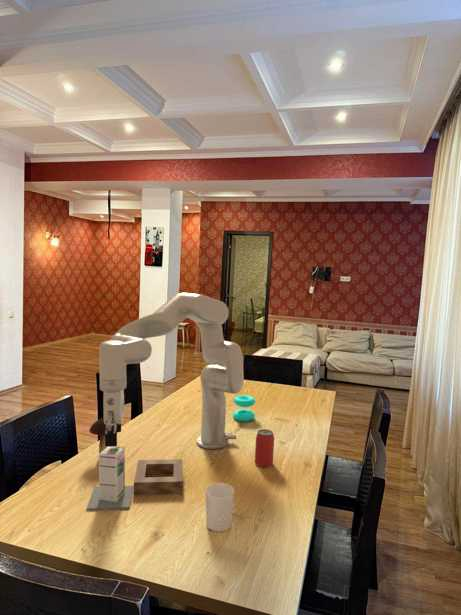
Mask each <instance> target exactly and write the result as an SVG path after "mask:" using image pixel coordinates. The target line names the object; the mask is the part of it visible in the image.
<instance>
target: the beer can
mask: <svg viewBox="0 0 461 615" xmlns="http://www.w3.org/2000/svg"><path fill="white" fill-rule="evenodd" d="M274 448H275V436H274V432H273V431H272V430H270V429H264V428H262V429H260V430H257V433H256V437H255V452H254V463H255V465H256V466H258V467H260V468H267V469H268V468H270V467H273V464H274V450H275V449H274Z"/></svg>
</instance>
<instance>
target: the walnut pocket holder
mask: <svg viewBox="0 0 461 615" xmlns="http://www.w3.org/2000/svg"><path fill="white" fill-rule="evenodd" d="M183 465H184V464H183V459H182V458H181V459H179V458H178V459H176V458H175V459H138V460H137V463H136V469H135V475H134V481H133V496H145V495H146V496H147V495H176V494H177V495H179V494H181V495H182V494H183V493H184V466H183ZM149 476H150V477H149ZM151 476H153V477H151Z"/></svg>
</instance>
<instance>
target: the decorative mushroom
mask: <svg viewBox="0 0 461 615" xmlns="http://www.w3.org/2000/svg"><path fill="white" fill-rule="evenodd" d="M105 432H106V425H105V424H104V417H102V418H99V419H98V420H96V421H95V422H93V423H92V424H91V426H90V428H89V433H90V434H92V435H95V436H100V437H99V443H98V455H99V454H100V453H101V452H102V451H103V450H104V449H106V448H107V447H106V446H105ZM118 433H119V432H117V434H118Z"/></svg>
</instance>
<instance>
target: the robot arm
mask: <svg viewBox="0 0 461 615" xmlns="http://www.w3.org/2000/svg"><path fill="white" fill-rule="evenodd" d="M229 311H230V310H229V308H228V306H227V304H226V303H225V302H223V301H221V300H218V299H215V298H213V297H211V296H207V295H204V294H200V293H199V294H198V293H189V292H180V293H177V294H174V295H173V296H172V297H171V298H169V299H168V300H167V301H166V302H165V303H164V304H162V305H161V306H160V307H159V308H157V310H155V311H154V312H153V313H151V314H148V315H145V316H143V317H140V318H138V319H135V320H133V321H131V322H128V323H126V324H125V325H124V326H123V327H122V328H120V329H119V330H117V332H115V333H114V334H113V335H112V336H111V338H110V339H109V340H105V341H103V342H101V343H100V345H99V347H98V348H99V350H98V353H99V354H98V356H99V357H98V359H99V390H100V391H101V392H103V398H102V400H103V406H102V407H103V408H102V409H103V418H104V424H105V425H106V432H105V446H106V447H113V446H118V433H121V432H122V423H123V420H124V418H125V417H124V416H125V393H124V390H125V389H126V388H127V365H130V364H141V363H143V362H145V361H147V360H148V359H149V358H151V355H152V351H153V348H152V344H151V343H150V341H148V340H147V339H149V338H156V337H163V336H167V335H168V334H171V333H172V332H173V331H175V329H177V327H178V326H179V325H181V323H183V322H184V321H185V319H190V320H191V321H193V322H194V323H195V324H196V325H197V326H198V328H199V332H200V342H201V353H202V358H203V360H204V361H205V362H207V363H209V364H208V365H205V366H204V367H203V368H202V370H201V372H200V380H199V381H200V385H201V386H200V387H201V394H202V395H201V396H202V397H201V398H202V401H201V427H200V435H199V436H198V437H197V439H196V444H197V445H198V446H199V447H201V448H204V449H207V450H209V449H210V450H217V449H218V450H220V449H223V448H226V447H227V446H228V445H229V440H237V434H236V433H233V432H227V431H226V414H227V413H226V412H227V398H226V393H227V394H230V395H231V394H232V395H235V394H236V395H237V394H238V393H239V392H241V391H242V389H243V386H244V380H245V379H244V377H245V376H244V375H245V374H244V359H243V357H244V356H243V351H242V348H241V346H240V345H239V344H238V343H236V342H234V341H228V340H225V338H224V332H223V324H225V323H226V321H227V320H228V318H229ZM117 432H118V433H117Z"/></svg>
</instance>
